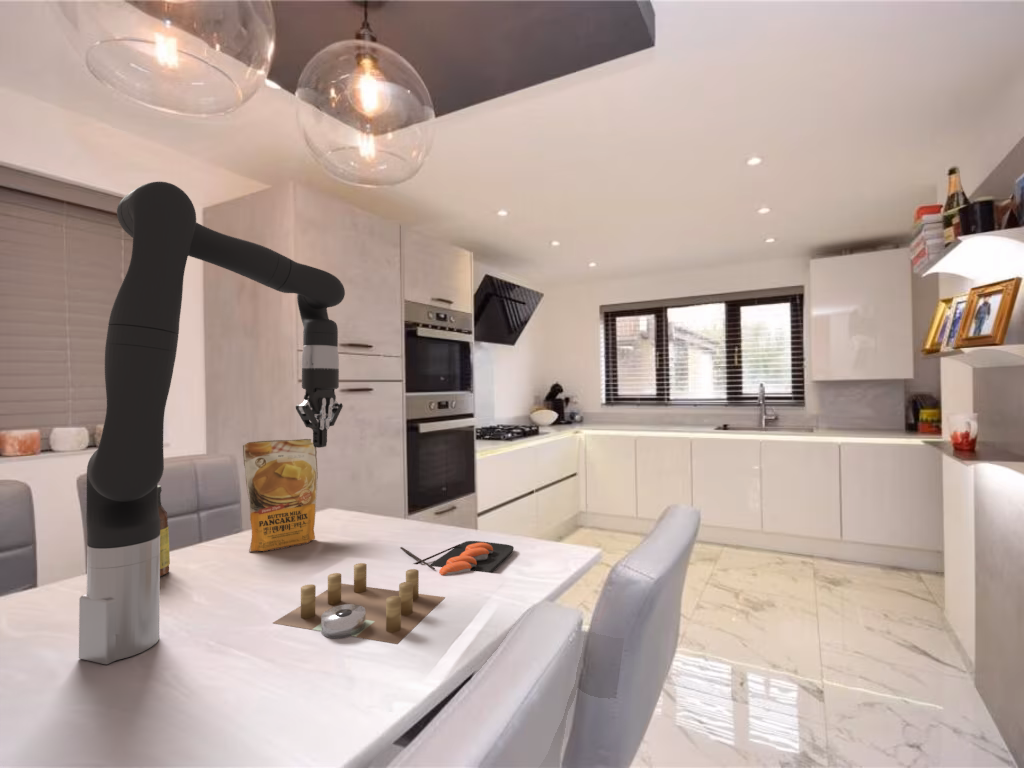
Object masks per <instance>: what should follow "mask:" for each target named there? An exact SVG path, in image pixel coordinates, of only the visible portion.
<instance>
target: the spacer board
mask: <svg viewBox="0 0 1024 768" xmlns="http://www.w3.org/2000/svg"><path fill="white" fill-rule="evenodd" d="M367 570H368V569H367V564H366V563H365V562H360V563H356V564H353V584H349V583H348V584H347V583H342V573H339V572H334V573H329V574H328V575H327V589H326V590H324V591H323V592H320V594H318V595H316V587H317V585H315V584H310V583H309V584H305V585H302V586H301V587H300V606H298V607H296V608H294V609H293V610H292V611H289V612H288V613H287V614H285V615H283V616H281V617H280V618H278V619H277V620H275V621H273V622H272V624H275V625H281V626H288V627H294V628H299V629H304V630H311V631H316V632H321V616H322V614H323V613H324V612H325V611H326V610H328V609H330V608H333V607H336V606H339V605H346V604H356V605H360V606H362V607H364V608H365V611H366V625H365V628H364V629H363V630H362V631H361V632H359V633H357V634H355V635H352V636H350V637H352V638H358V639H363V640H364V639H365V640H371V641H376V642H381V643H388V644H394V645H398V644H399V643H401V641H402V640H403V639H404V638H405V637H406V636H408V634H410V632H412V630H413V629H414V628H416V627H417V626H418V625H419V623H421V622H422V621H423V620H424V619H425V618H426V617H427V616H428V615H429V614H430V613H431V612H432V611H434V609H435V608H436V607H437V606H438V605H440V604H441V602H442V601H443V600H444V599H445V598H446V597H445V596H441V595H440V596H438V595H432V594H425V593H419V584H420V583H419V582H420V581H419V578H420V577H419V571H420V570H419V569H415V568H413V569H412V568H411V569H407V570H406V571H405V581H403V582H401V583H399V586H398V590H393V589H387V588H381V587H380V588H379V587H371V586H367Z"/></svg>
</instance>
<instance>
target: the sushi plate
mask: <svg viewBox="0 0 1024 768" xmlns="http://www.w3.org/2000/svg"><path fill="white" fill-rule="evenodd" d="M399 548H400V549H401V550H402V551H403V552H404V553H405V554H407V555H408V556H410V557H412V558H414V559H415V560H417V561H416V562H413V565H419V564H421V563H423V564H424V565H426V566H427V567H429V568H431V569H433V570H436V568H435V567H437V568H440V569H439V575H440V576H449V575H455V574H460V573H465V572H466V573H468V572H481V573H489V574H491V572H492V571H494V570H495V569H496V568H497V567H498V566H499V565H500V564H501V563H502V562H503V561H504V560H506V558H508V557H509V555H511V554H512V552H513V551H514V546H513V545H511V544H505V543H499V542H489V541H479V540H466V541H464V542H462V543H458V544H456V545H454V546H452V547H451V546H450V547H449V548H447V549H445V550H441V552H438V553H435V554H434V555H433V554H432V555H431V556H428V557H426V558H424V559H421V558H419V557H418V556H417V555H415V554H414V553H412V552H410V550H407V549H406V548H404V547H403V546H401V547H399ZM443 553H444V555H441V554H443ZM439 555H441V556H440V557H439V558H438V559H436V560H434V561H433V562H432V563H428V562H425V561H428V560H431V559H432V558H434V557H437V556H439Z"/></svg>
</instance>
